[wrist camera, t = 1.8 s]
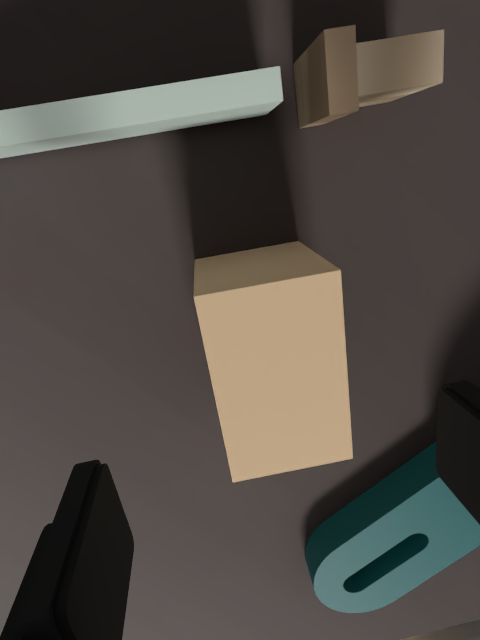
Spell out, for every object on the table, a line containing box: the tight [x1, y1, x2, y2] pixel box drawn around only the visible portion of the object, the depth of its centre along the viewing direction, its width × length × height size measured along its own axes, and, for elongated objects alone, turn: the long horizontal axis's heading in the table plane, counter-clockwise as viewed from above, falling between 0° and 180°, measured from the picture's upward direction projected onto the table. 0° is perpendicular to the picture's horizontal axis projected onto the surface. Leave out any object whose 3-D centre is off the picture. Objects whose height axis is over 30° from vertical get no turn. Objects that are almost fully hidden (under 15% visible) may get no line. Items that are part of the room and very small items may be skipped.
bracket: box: [305, 442, 480, 613], centre depth 22 cm, size 18×7×8 cm, turn 131°
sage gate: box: [0, 66, 283, 158], centre depth 14 cm, size 15×2×4 cm, turn 99°
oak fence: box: [293, 25, 444, 129], centre depth 14 cm, size 25×2×4 cm, turn 99°
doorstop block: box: [194, 241, 353, 482], centre depth 17 cm, size 5×8×6 cm, turn 9°
